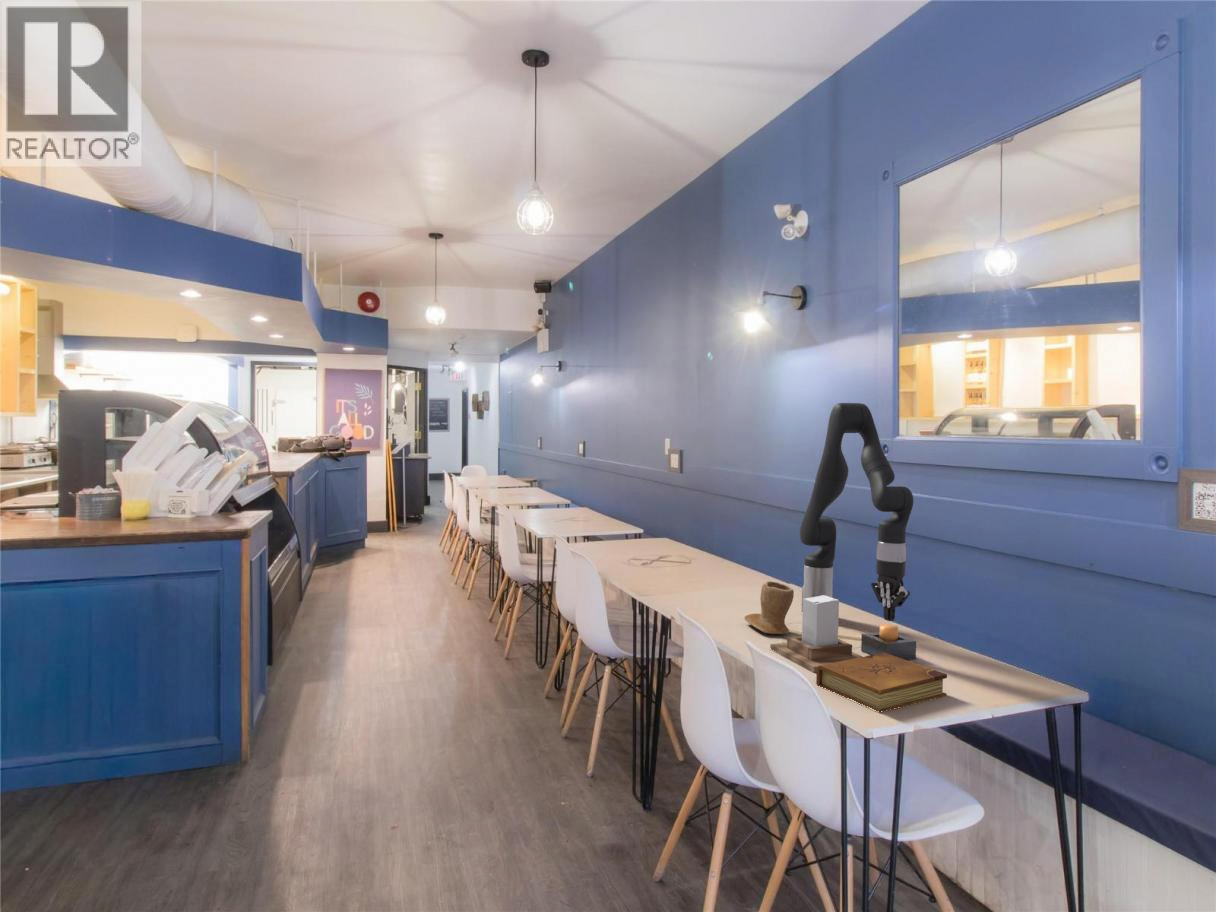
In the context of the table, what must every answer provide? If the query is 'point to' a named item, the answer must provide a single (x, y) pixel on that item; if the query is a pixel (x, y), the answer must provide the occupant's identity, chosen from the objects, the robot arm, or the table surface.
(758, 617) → the brown hat
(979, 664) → the table surface
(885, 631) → the button
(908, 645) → the button housing
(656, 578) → the table surface
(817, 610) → the skincare box
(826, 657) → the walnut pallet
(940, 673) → the diary
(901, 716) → the table surface
